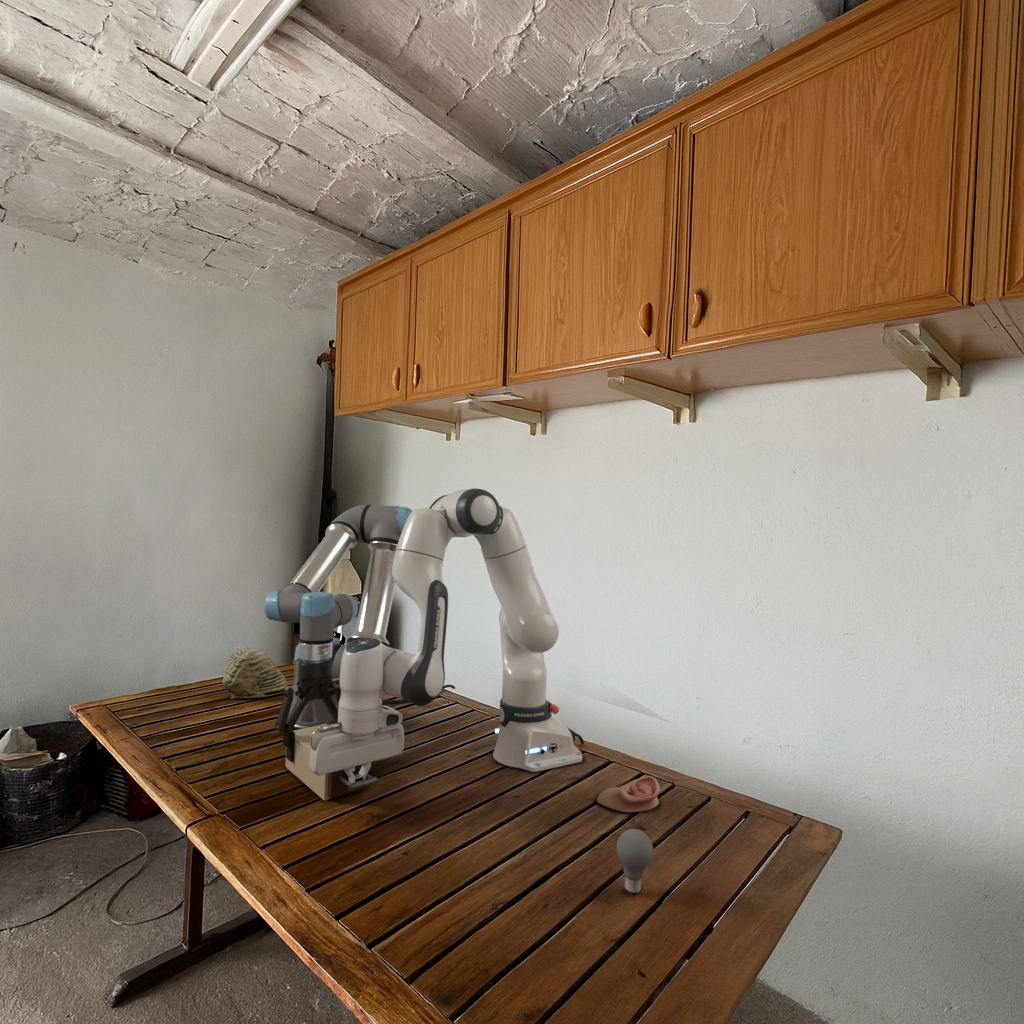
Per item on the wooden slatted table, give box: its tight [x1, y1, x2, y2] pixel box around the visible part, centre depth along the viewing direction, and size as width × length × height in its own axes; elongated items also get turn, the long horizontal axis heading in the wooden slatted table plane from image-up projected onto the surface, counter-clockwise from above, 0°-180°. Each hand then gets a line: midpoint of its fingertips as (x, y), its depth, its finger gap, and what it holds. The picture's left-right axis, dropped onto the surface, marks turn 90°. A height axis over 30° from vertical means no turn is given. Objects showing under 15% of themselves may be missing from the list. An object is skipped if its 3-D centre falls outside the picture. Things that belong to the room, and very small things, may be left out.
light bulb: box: [615, 828, 654, 894], centre depth 106 cm, size 6×6×10 cm
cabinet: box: [285, 724, 331, 801], centre depth 143 cm, size 21×10×8 cm, turn 42°
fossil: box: [222, 646, 287, 699], centre depth 198 cm, size 9×18×15 cm, turn 132°
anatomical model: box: [596, 775, 661, 813], centre depth 138 cm, size 13×4×12 cm
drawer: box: [328, 765, 378, 800], centre depth 139 cm, size 26×9×6 cm, turn 42°
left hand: (311, 754), depth 148 cm, fingers closed on cabinet, 10 cm apart
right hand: (356, 784), depth 132 cm, fingers closed
